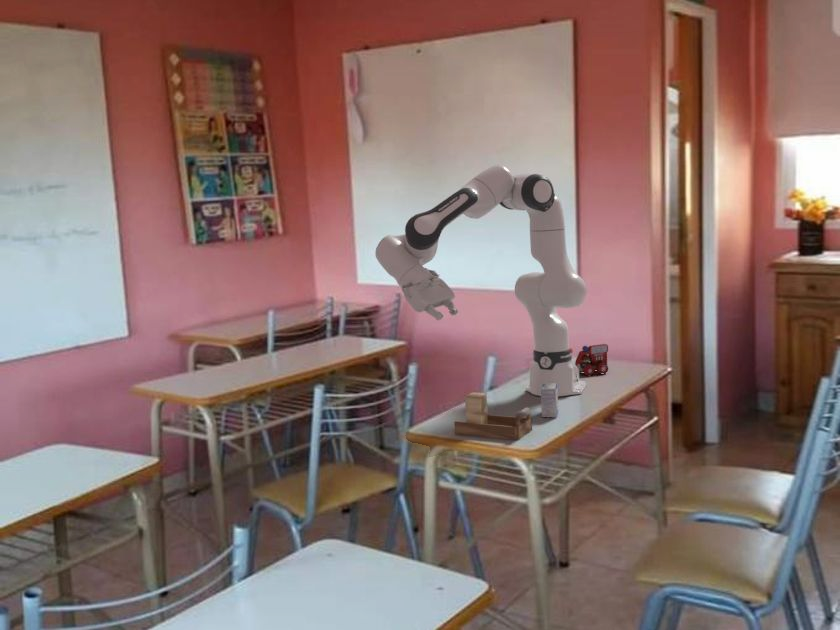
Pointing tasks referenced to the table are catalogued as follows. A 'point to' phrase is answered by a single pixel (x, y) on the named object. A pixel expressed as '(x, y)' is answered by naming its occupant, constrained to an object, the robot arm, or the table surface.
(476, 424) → the wooden drawer with handle
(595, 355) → the toy fire truck
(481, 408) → the tan wooden block
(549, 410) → the medicine box
